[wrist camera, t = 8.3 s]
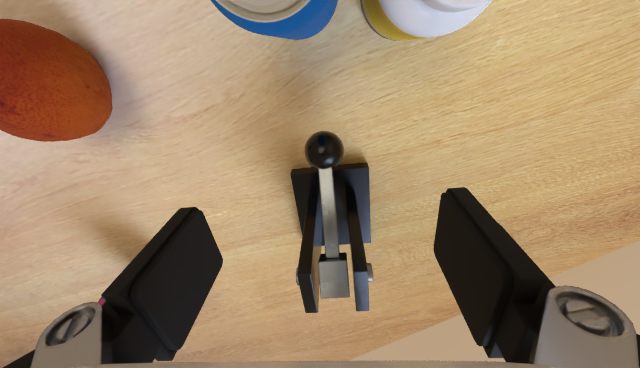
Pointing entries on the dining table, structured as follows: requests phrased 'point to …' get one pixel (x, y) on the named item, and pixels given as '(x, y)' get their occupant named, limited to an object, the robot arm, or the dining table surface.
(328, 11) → the beverage can
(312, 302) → the switch bracket
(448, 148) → the dining table surface
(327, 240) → the switch lever
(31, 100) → the fruit
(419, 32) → the pill bottle
